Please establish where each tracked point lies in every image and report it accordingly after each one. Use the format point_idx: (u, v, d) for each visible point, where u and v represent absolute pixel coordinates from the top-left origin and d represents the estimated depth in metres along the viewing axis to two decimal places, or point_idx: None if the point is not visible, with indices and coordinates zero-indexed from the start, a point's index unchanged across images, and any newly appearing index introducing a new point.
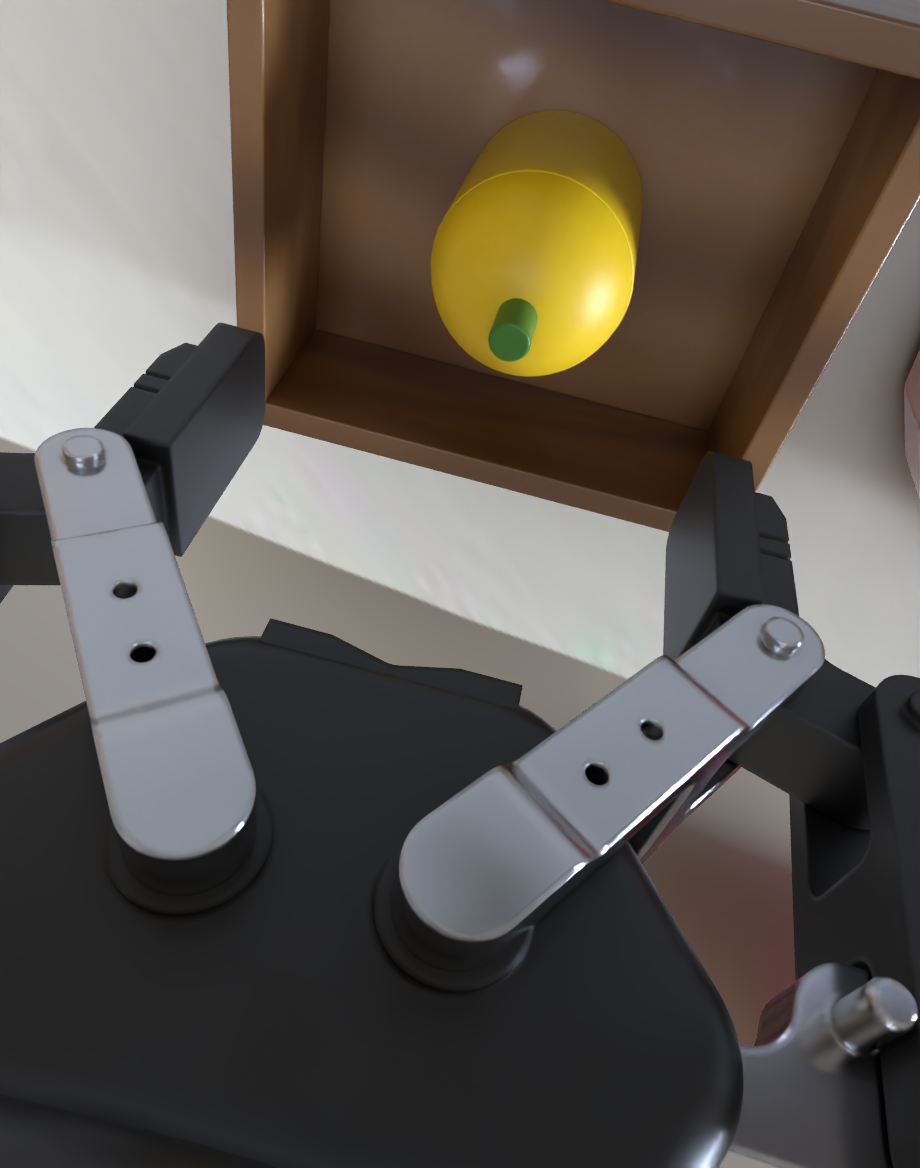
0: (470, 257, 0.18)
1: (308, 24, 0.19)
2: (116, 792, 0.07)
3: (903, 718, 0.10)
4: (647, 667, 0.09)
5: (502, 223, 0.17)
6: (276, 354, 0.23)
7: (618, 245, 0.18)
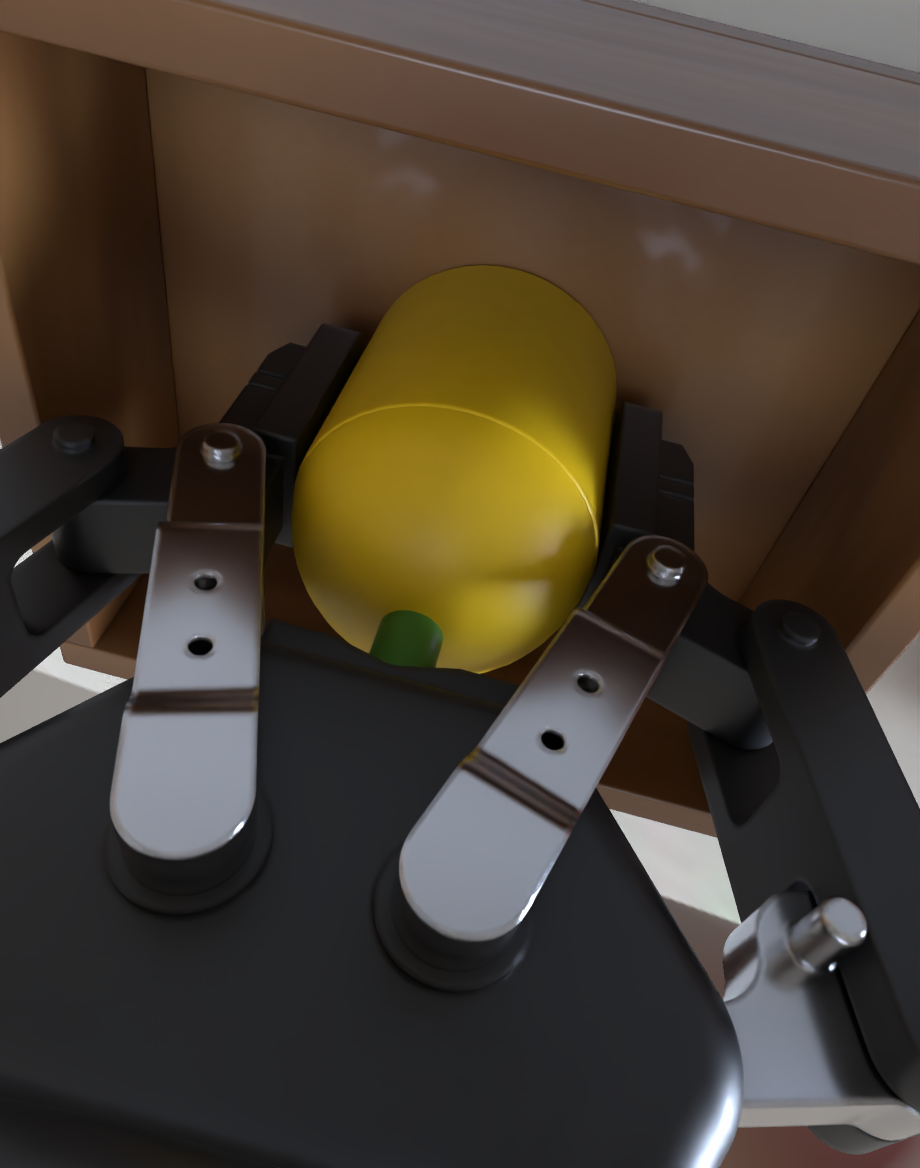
0: (334, 541, 0.11)
1: (102, 154, 0.13)
2: (116, 792, 0.07)
3: (776, 636, 0.11)
4: (565, 624, 0.10)
5: (381, 497, 0.11)
6: None
7: (571, 517, 0.11)
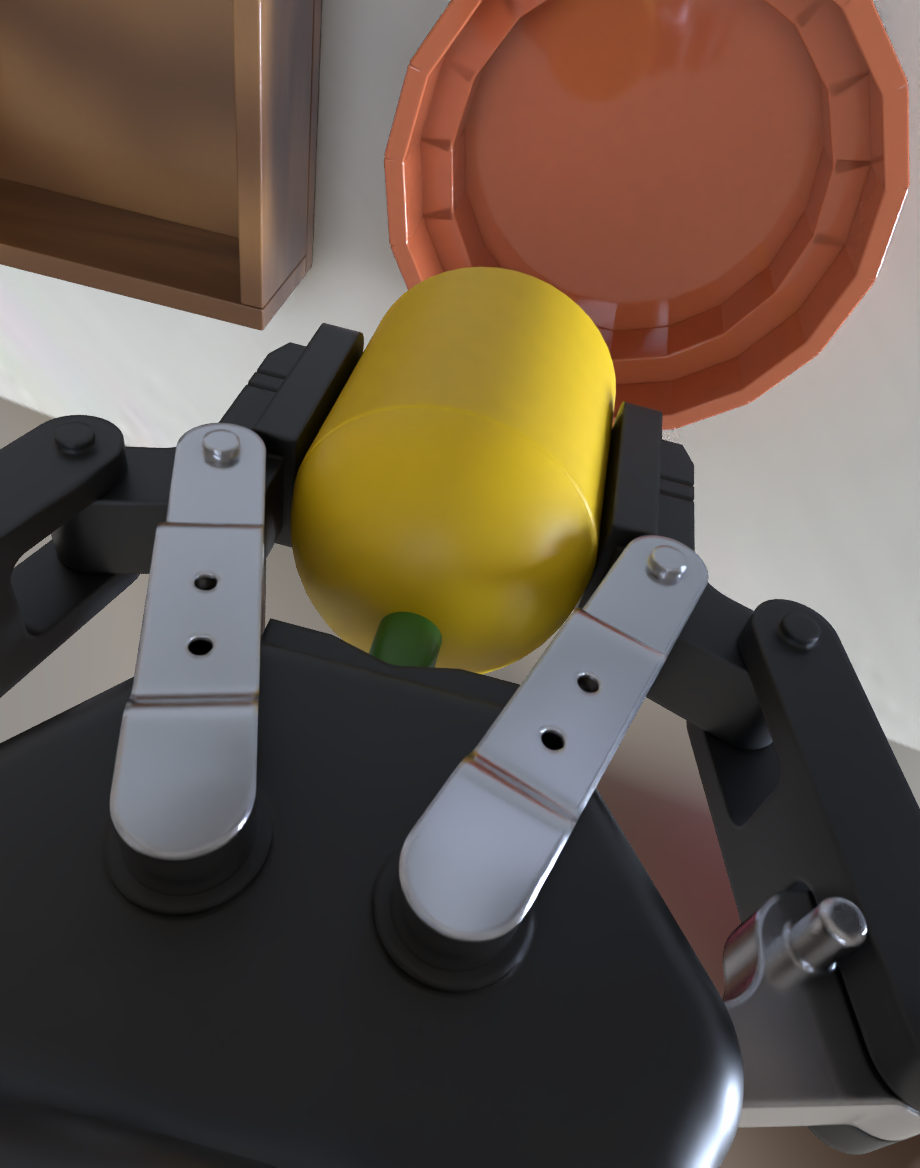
0: (334, 543, 0.11)
1: None
2: (116, 792, 0.07)
3: (775, 636, 0.11)
4: (565, 624, 0.10)
5: (380, 499, 0.11)
6: None
7: (570, 518, 0.11)
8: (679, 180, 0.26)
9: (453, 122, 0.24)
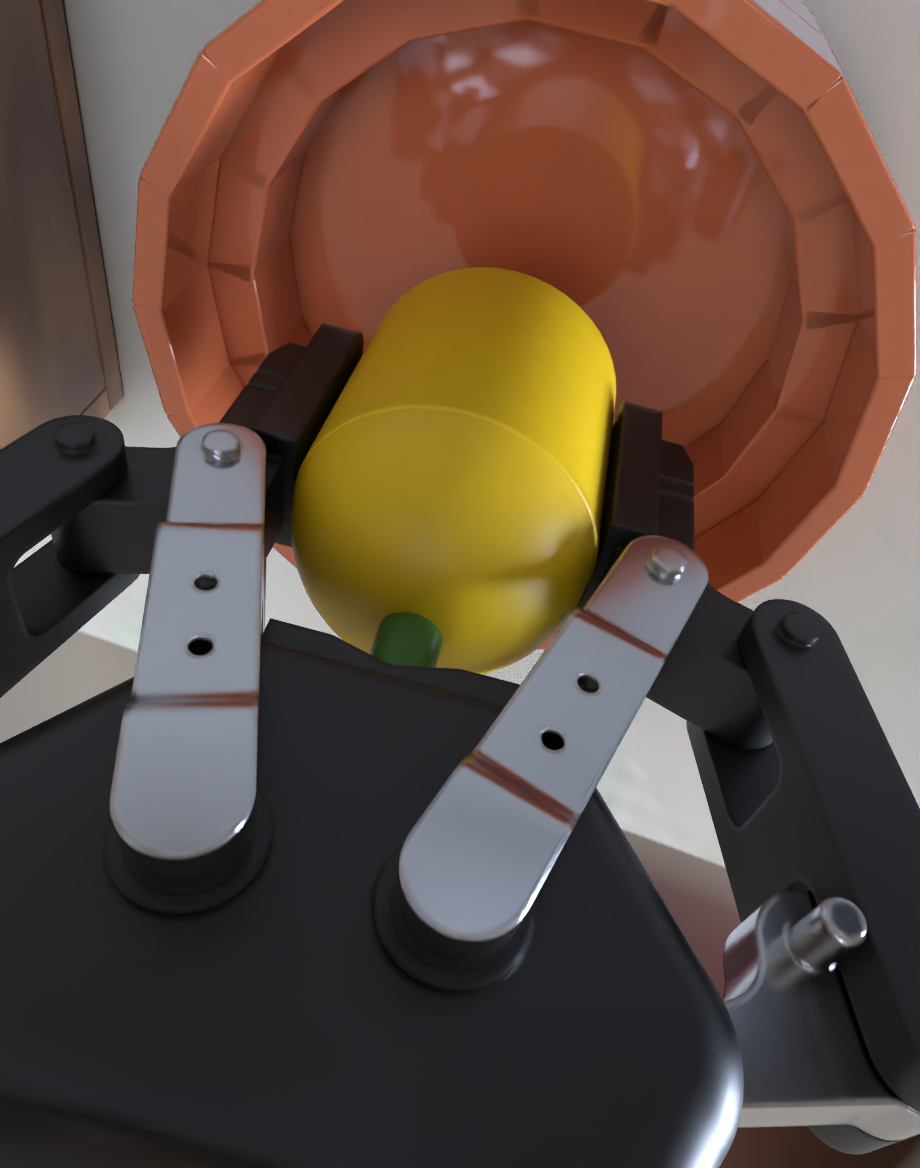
0: (334, 544, 0.11)
1: None
2: (116, 792, 0.07)
3: (776, 636, 0.11)
4: (565, 624, 0.10)
5: (381, 499, 0.11)
6: None
7: (570, 519, 0.11)
8: (590, 313, 0.19)
9: (249, 243, 0.17)
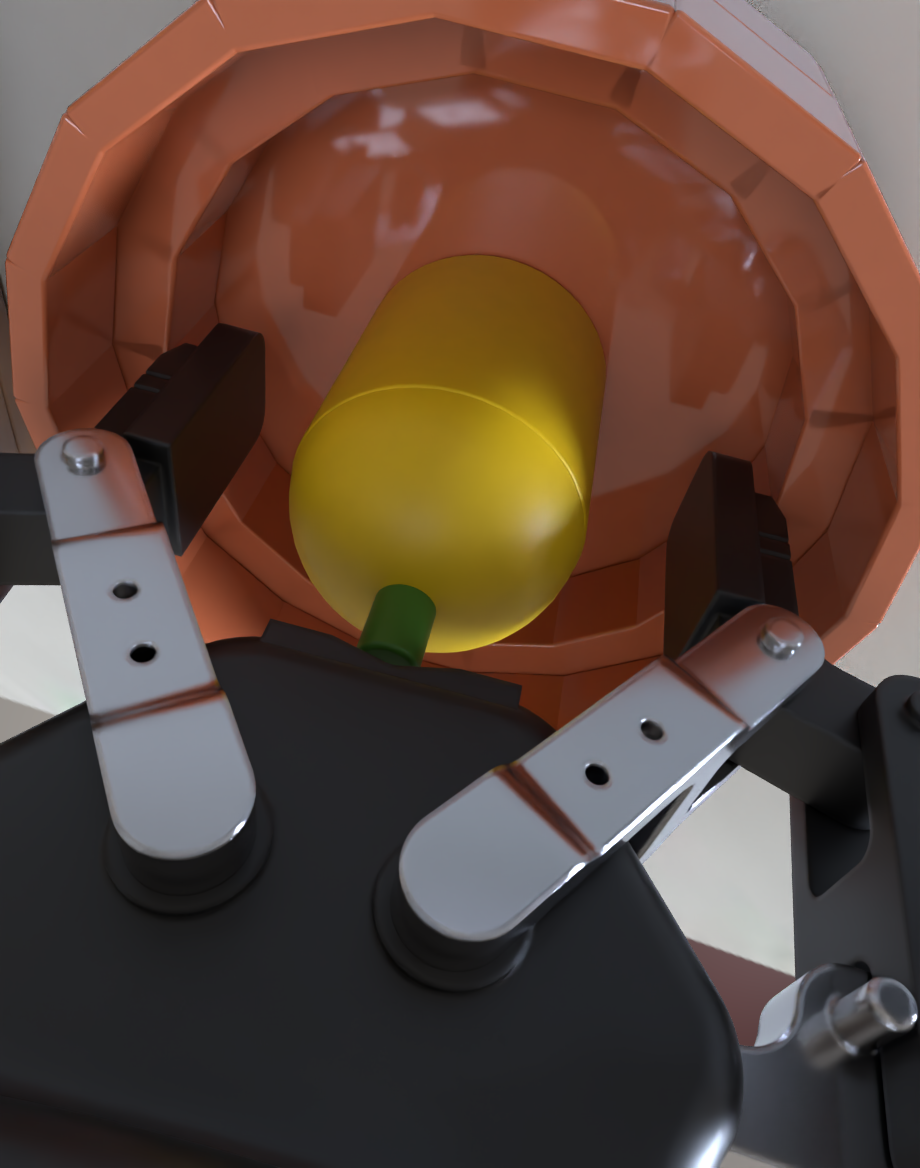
0: (331, 518, 0.11)
1: None
2: (116, 792, 0.07)
3: (903, 718, 0.10)
4: (647, 668, 0.09)
5: (377, 474, 0.11)
6: None
7: (560, 495, 0.12)
8: None
9: (159, 321, 0.14)
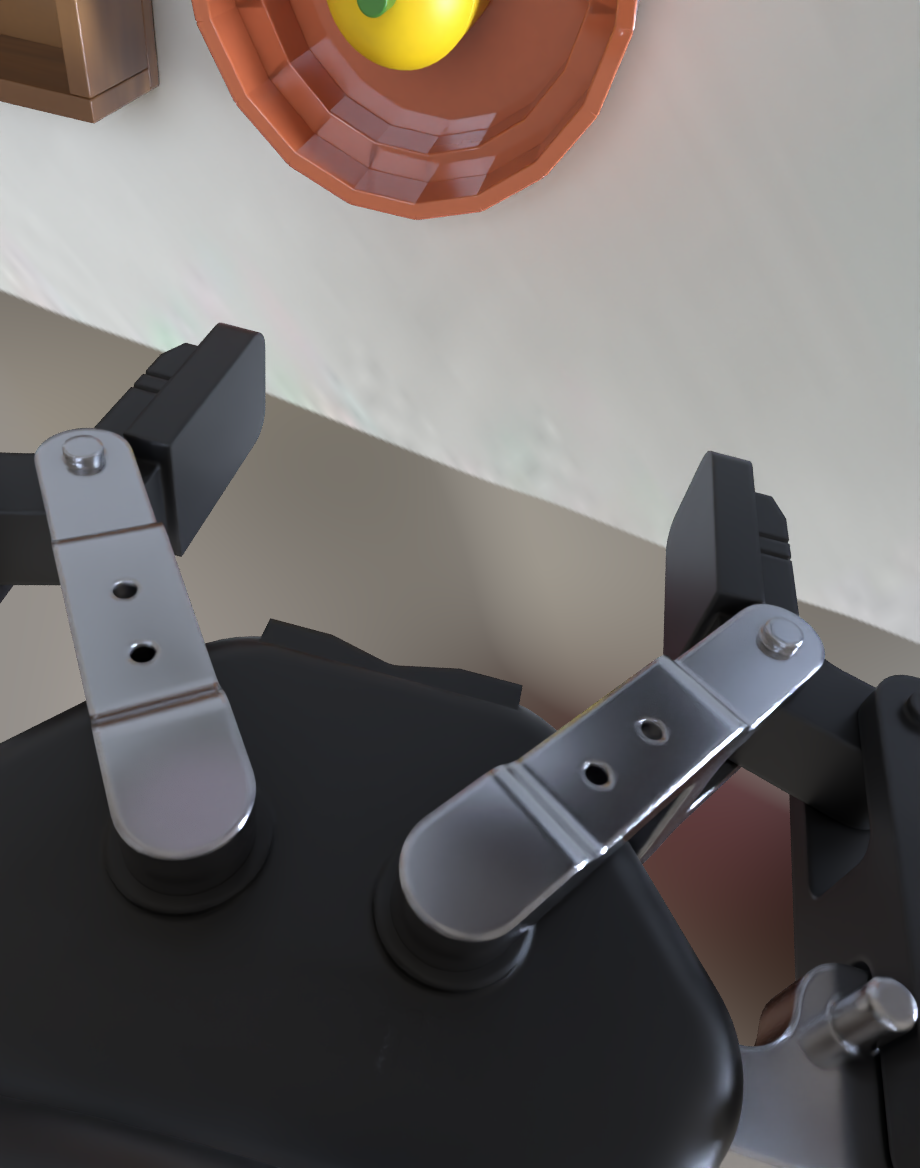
0: None
1: None
2: (116, 792, 0.07)
3: (903, 718, 0.10)
4: (647, 667, 0.09)
5: None
6: None
7: None
8: None
9: None
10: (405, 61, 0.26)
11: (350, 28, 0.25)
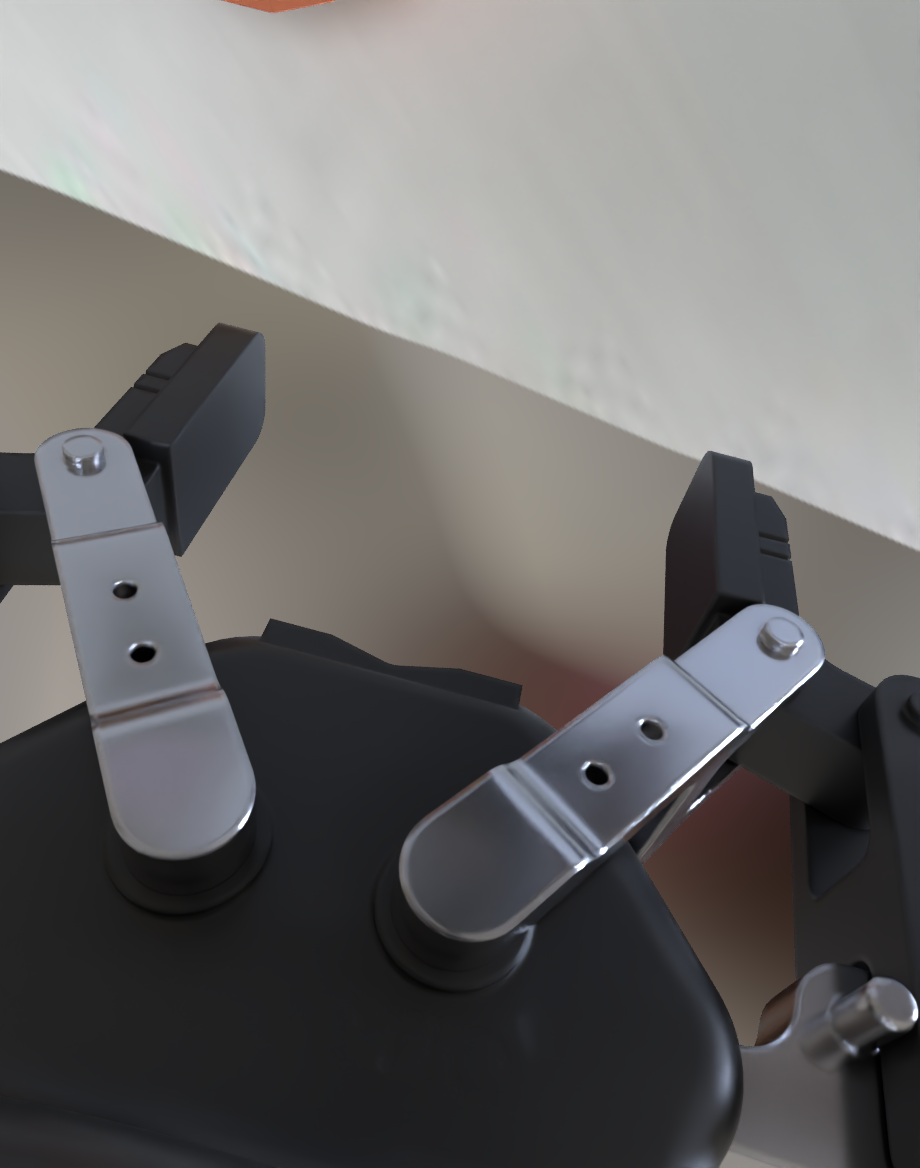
0: None
1: None
2: (116, 792, 0.07)
3: (903, 718, 0.10)
4: (647, 668, 0.09)
5: None
6: None
7: None
8: None
9: None
10: None
11: None
